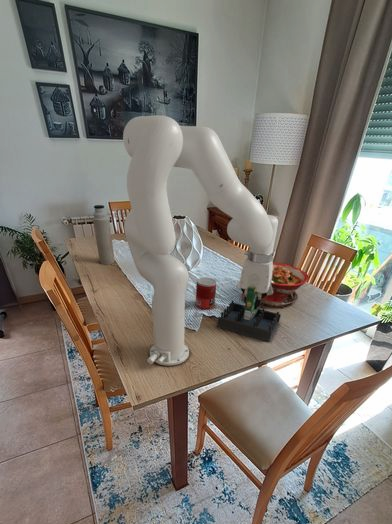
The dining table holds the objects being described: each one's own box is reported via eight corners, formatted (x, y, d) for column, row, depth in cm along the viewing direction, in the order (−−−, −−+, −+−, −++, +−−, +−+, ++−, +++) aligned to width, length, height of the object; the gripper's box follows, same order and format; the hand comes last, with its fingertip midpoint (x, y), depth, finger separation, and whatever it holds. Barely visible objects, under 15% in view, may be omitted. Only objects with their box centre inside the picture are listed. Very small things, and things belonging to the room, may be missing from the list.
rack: (278, 323, 111) (281, 310, 108) (269, 341, 101) (272, 328, 98) (230, 311, 118) (231, 298, 115) (217, 326, 108) (218, 313, 104)
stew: (267, 318, 114) (275, 280, 105) (230, 294, 130) (234, 259, 121) (313, 302, 127) (324, 267, 117) (274, 283, 143) (281, 250, 133)
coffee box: (250, 322, 104) (255, 288, 96) (242, 320, 105) (247, 286, 97) (257, 312, 110) (263, 280, 102) (250, 310, 111) (255, 278, 103)
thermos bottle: (116, 259, 161) (109, 204, 144) (112, 264, 155) (105, 207, 138) (102, 258, 161) (93, 203, 144) (97, 264, 154) (88, 206, 138)
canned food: (213, 311, 117) (215, 286, 111) (193, 308, 119) (194, 283, 112) (215, 302, 124) (217, 278, 117) (197, 300, 125) (198, 276, 118)
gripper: (232, 255, 94) (226, 305, 105) (282, 264, 88) (271, 316, 99) (240, 249, 99) (234, 297, 110) (287, 257, 94) (276, 307, 105)
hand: (251, 306), depth 105 cm, fingers closed on coffee box, 3 cm apart
